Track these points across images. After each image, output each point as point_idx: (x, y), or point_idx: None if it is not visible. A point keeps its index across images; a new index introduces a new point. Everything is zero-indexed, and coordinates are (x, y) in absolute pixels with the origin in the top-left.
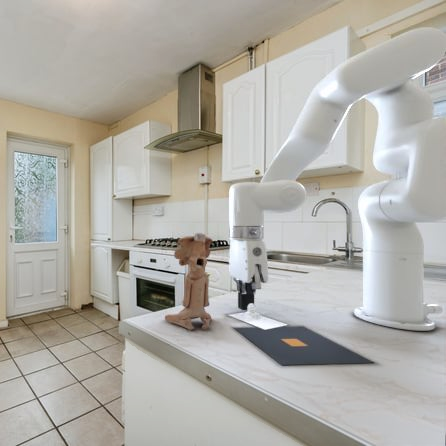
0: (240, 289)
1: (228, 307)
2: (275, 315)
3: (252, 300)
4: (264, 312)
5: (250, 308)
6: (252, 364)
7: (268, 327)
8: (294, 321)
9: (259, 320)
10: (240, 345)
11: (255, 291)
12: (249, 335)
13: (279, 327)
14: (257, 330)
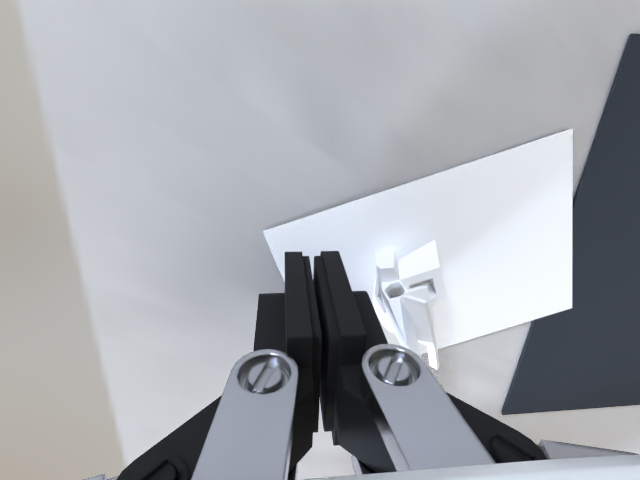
0: (295, 461)
1: (165, 327)
2: (368, 72)
3: (377, 321)
4: (286, 121)
5: (415, 328)
6: None
7: (558, 276)
8: (524, 6)
9: (449, 263)
10: (632, 439)
11: (427, 371)
12: (591, 392)
13: (578, 215)
14: (564, 342)
